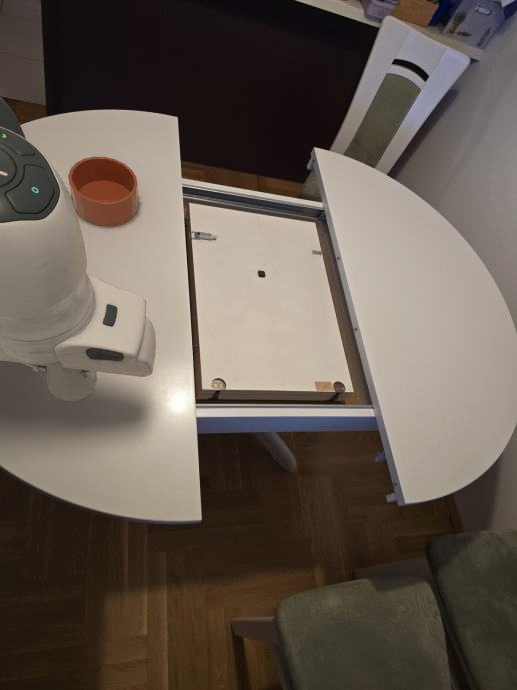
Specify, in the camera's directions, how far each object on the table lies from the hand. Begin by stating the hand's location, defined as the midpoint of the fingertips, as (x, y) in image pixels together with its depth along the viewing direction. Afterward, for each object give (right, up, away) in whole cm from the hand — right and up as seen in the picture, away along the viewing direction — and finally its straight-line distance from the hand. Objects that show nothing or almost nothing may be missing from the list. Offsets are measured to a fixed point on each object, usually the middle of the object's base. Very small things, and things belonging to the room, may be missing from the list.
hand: (66, 369), depth 46 cm
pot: (-8, +32, +33) cm, 46 cm away
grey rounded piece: (-1, -3, +5) cm, 6 cm away
